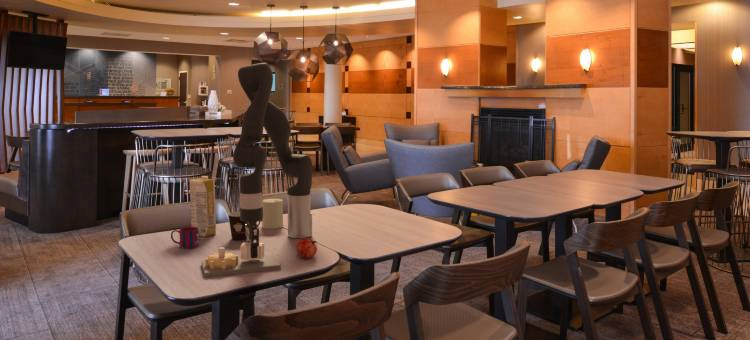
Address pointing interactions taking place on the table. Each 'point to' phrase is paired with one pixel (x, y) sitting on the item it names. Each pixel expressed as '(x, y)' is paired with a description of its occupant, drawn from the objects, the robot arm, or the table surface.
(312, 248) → the pomegranate
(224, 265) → the gear board
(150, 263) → the table surface
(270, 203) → the can
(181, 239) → the cup
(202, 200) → the juice carton
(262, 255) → the loose gear
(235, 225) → the coffee mug
